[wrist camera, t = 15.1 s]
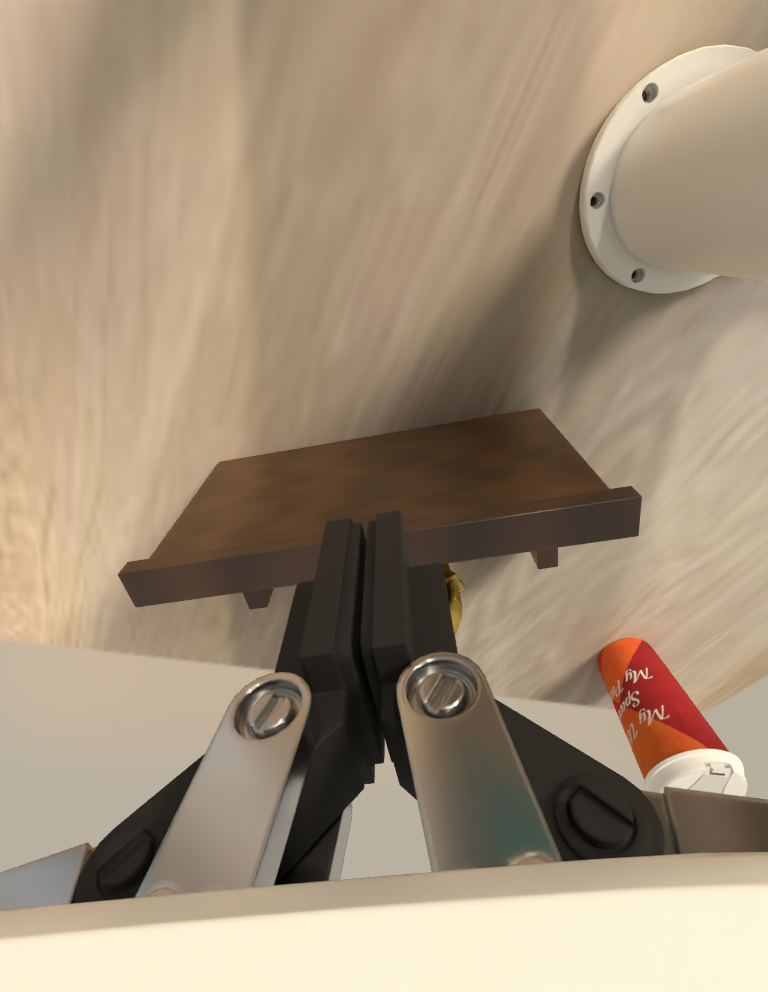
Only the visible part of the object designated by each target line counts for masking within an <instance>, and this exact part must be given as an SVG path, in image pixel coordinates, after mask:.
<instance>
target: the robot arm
mask: <svg viewBox="0 0 768 992" xmlns="http://www.w3.org/2000/svg"><path fill="white" fill-rule="evenodd" d="M643 92H645V93H646V95H647V97H646V100H645V101H643V99H642V93H643ZM592 197H595V199H596V202H595V204H594V205H593V206H591V204H590V200H591V198H592ZM579 212H580V221H581V229H582V233H583V236H584V239H585V242H586V245H587V248H588V250H589V252H590V253H591V255H592V257H593V259H594V260H595V262H596V264H597V265H598V266H599V267H600V268H601V269H602V270H603V271H604V272H605V273H606V274H607V276H609V277H610V278H612V279H613V280H615V281H616V282H618V283H619V284H621V285H623V286H626V287H629V288H632V289H634V290H637V291H643V292H648V293H674V292H680V291H685V290H689V289H692V288H694V287H697V286H700V285H702V284H705V283H707V282H709V281H711V280H713V279H714V278H716V277H718V276H728V277H735V278H743V279H751V280H758V281H766V282H768V47H767V48H765V49H763V50H761V51H759V52H756V51H754V50H752V49H750V48H748V47H741V46H734V45H728V44H724V45H715V46H706V47H701V48H698V49H695V50H693V51H690V52H687V53H684V54H681V55H679V56H677V57H675V58H674V59H672V60H670V61H668V62H666V63H664V64H663V65H661V66H660V67H658V68H657V69H655V70H654V71H652V72H651V73H650V74H648V75H647V76H645V77H644V78H642V79H641V80H640V81H639V82H638V83H637V84H636V85H635V86H634V87H633V88H632V89H631V90H630V91H629V92H628V93H627V94H626V95H625V96H624V97H623V98H622V99H621V100H620V101H619V103H618V104H617V105H616V107H615V108H614V109H613V111H612V112H611V113H610V115H609V116H608V117H607V119H606V120H605V122H604V124H603V126H602V128H601V129H600V131H599V133H598V135H597V137H596V139H595V140H594V143H593V145H592V148H591V151H590V153H589V156H588V159H587V161H586V164H585V168H584V173H583V177H582V182H581V187H580V203H579ZM633 271H635V276H634V277H633V278H632V279H631V275H632V273H633ZM385 740H386V744H387V748H388V751H389V755H390V758H391V761H392V762H394V766H395V770H396V773H397V776H398V780H399V783H400V785H401V786H402V787H403V788H404V789H405V790H406V791H407V792H408V793H410V794H411V795H412V796H413V797H414V798H415V799H416V800H417V801H418V806H419V811H420V816H421V821H422V826H423V831H424V835H425V841H426V845H427V850H428V856H429V860H430V865H431V870H432V872H428V873H416V874H404V875H392V876H380V877H368V878H357V879H344V880H340V877H341V872H342V867H343V861H344V856H345V851H346V846H347V841H348V836H349V830H350V825H351V820H352V804H351V802H352V801H353V800H354V799H355V798H356V797H357V796H358V794H359V793H360V792H361V791H362V790H363V789H364V784H371V783H374V777H375V776H374V775H375V764H380V763H383V762H384V753H385V751H384V749H385V747H384V746H385ZM0 992H768V800H766V799H759V798H751V797H743V796H736V795H728V794H720V793H712V792H705V791H697V790H689V789H681V788H674V787H666V786H664V791H663V793H657V792H650V791H642V790H640V789H638V788H637V787H636V786H634V785H633V784H632V783H630V782H629V781H628V780H627V779H625V778H624V777H623V776H621V775H619V774H618V773H616V772H614V771H613V770H611V769H609V768H608V767H606V766H604V765H603V764H601V763H599V762H598V761H596V760H594V759H593V758H591V757H590V756H588V755H586V754H585V753H583V752H581V751H580V750H578V749H576V748H575V747H573V746H572V745H570V744H568V743H567V742H565V741H563V740H562V739H560V738H558V737H557V736H555V735H553V734H552V733H550V732H549V731H547V730H545V729H543V728H542V727H540V726H539V725H537V724H535V723H534V722H532V721H531V720H529V719H527V718H526V717H524V716H522V715H520V714H519V713H517V712H516V711H514V710H512V709H511V708H509V707H508V706H506V705H504V704H502V703H501V702H499V701H497V700H496V699H494V696H493V694H492V692H491V689H490V687H489V684H488V682H487V680H486V677H485V675H484V674H483V672H482V671H481V669H480V668H479V666H478V665H477V664H475V663H474V662H473V661H472V660H470V659H469V658H467V657H465V656H462V655H460V654H458V652H457V646H456V640H455V634H454V628H453V622H452V617H451V611H450V605H449V599H448V593H447V587H446V581H445V576H444V570H443V564H442V562H439V563H432V564H425V565H418V566H411V562H410V557H409V552H408V546H407V541H406V536H405V530H404V525H403V520H402V515H401V511H400V510H396V511H390V512H383V513H377V514H376V520H373V521H368V525H367V541H366V538H365V534H364V529H363V526H362V523H361V522H360V523H353V520H352V518H344V519H338V520H331V521H327V522H326V526H325V531H324V536H323V541H322V545H321V550H320V555H319V560H318V565H317V570H316V575H315V580H312V581H305V582H300V583H299V584H298V585H297V587H296V590H295V594H294V598H293V602H292V606H291V610H290V614H289V618H288V622H287V626H286V630H285V634H284V638H283V642H282V646H281V650H280V654H279V658H278V661H277V665H276V669H275V673H270V674H267V675H265V676H262V677H259V678H257V679H256V680H254V681H252V682H251V683H249V684H248V685H246V686H245V687H244V688H243V689H242V690H241V691H240V692H239V693H238V694H237V695H236V696H235V697H234V699H233V700H232V702H231V703H230V705H229V706H228V708H227V710H226V712H225V714H224V716H223V718H222V720H221V722H220V725H219V727H218V729H217V731H216V733H215V735H214V737H213V739H212V741H211V743H210V745H209V747H208V749H207V751H206V753H205V754H204V755H203V756H202V757H201V758H199V759H198V760H197V761H195V762H194V763H193V764H192V765H191V766H189V767H188V768H187V769H186V770H185V771H183V772H182V773H181V774H180V775H179V776H177V777H176V778H175V779H174V780H172V781H171V782H170V783H169V784H168V785H166V786H165V787H164V788H163V789H161V790H160V791H159V792H158V793H157V794H155V796H153V797H152V798H151V799H149V800H148V801H147V802H146V803H144V805H142V806H141V807H140V808H138V809H137V810H136V811H135V812H134V813H132V814H131V815H130V816H129V817H128V818H126V819H125V820H124V821H123V822H122V823H120V824H119V825H118V826H117V827H115V828H114V829H113V830H112V831H111V832H110V833H109V834H108V835H107V836H106V837H105V838H104V839H103V840H102V841H101V842H100V843H99V844H98V846H97V847H95V848H92V847H91V845H90V844H89V843H85V844H82V845H79V846H76V847H73V848H70V849H68V850H65V851H61V852H59V853H56V854H53V855H50V856H47V857H44V858H41V859H38V860H35V861H32V862H30V863H27V864H24V865H21V866H18V867H15V868H12V869H9V870H6V871H3V872H0Z"/></svg>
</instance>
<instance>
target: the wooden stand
mask: <svg viewBox="0 0 768 992" xmlns="http://www.w3.org/2000/svg"><path fill="white" fill-rule="evenodd" d="M641 500H642V497H641V495H640V494H639V493H638V492H637V491H636V490H635V489H634V488H633V487H632V486H628V487H621V488H614V489H609V488H608V487H607V485H606V484H605V483H604V482H603V481H602V480H601V478H600V477H599V476H598V475H597V474H596V473H595V472H594V470H593V469H592V468H591V467H590V466H589V465H588V464H587V462H586V461H585V460H584V459H583V458H582V457H581V455H580V454H579V453H578V452H577V451H576V450H575V449H574V447H573V446H572V445H571V444H570V443H569V442H568V441H567V439H566V438H565V437H564V436H563V435H562V434H561V433H560V431H559V430H558V429H557V428H556V427H555V426H554V424H553V423H552V422H551V421H550V420H549V419H548V418H547V416H546V415H545V414H544V413H543V412H542V411H541V410H540V409H533V410H527V411H521V412H515V413H509V414H503V415H497V416H491V417H485V418H479V419H473V420H467V421H461V422H455V423H449V424H443V425H437V426H431V427H425V428H419V429H413V430H408V431H402V432H396V433H390V434H384V435H378V436H372V437H366V438H360V439H354V440H348V441H342V442H336V443H330V444H324V445H318V446H312V447H306V448H300V449H294V450H288V451H282V452H276V453H270V454H264V455H258V456H252V457H246V458H240V459H235V460H229V461H223V462H219V463H218V464H217V466H216V467H215V468H214V470H213V471H212V473H211V474H210V475H209V477H208V478H207V479H206V481H205V482H204V484H203V485H202V486H201V488H200V489H199V490H198V492H197V493H196V495H195V496H194V497H193V499H192V500H191V502H190V503H189V504H188V506H187V507H186V508H185V510H184V511H183V513H182V514H181V515H180V517H179V518H178V519H177V521H176V522H175V524H174V525H173V526H172V528H171V529H170V530H169V532H168V533H167V535H166V536H165V537H164V539H163V540H162V542H161V543H160V544H159V546H158V547H157V548H156V550H155V551H154V553H153V554H152V555H151V557H150V558H149V559H145V560H138V561H131V562H127V563H126V565H125V566H124V567H123V569H122V570H121V571H120V572H119V574H118V576H119V578H120V580H121V582H122V583H123V585H124V587H125V589H126V591H127V592H128V594H129V596H130V598H131V600H132V601H133V603H134V605H135V607H143V606H150V605H157V604H164V603H171V602H178V601H185V600H192V599H199V598H206V597H213V596H220V595H227V594H234V593H241V592H243V594H244V597H245V599H246V601H247V604H248V606H249V609H256V608H264V607H268V604H269V601H270V598H271V595H272V592H273V588H276V587H283V586H290V585H297V584H299V583H300V582H305V581H312V580H315V575H316V570H317V565H318V560H319V555H320V550H321V545H322V541H323V536H324V531H325V526H326V522H327V521H331V520H338V519H344V518H352V520H353V523H360V522H361V523H362V526H363V529H364V534H365V538H366V541H367V525H368V521H373V520H376V514H377V513H383V512H390V511H396V510H400V511H401V515H402V520H403V525H404V530H405V536H406V541H407V546H408V552H409V557H410V562H411V566H418V565H425V564H432V563H439V562H442V564H445V563H452V562H459V561H466V560H473V559H480V558H487V557H494V556H501V555H508V554H516V553H523V552H531V554H532V557H533V559H534V561H535V563H536V565H537V568H538V569H543V568H551V567H557V566H558V547H565V546H572V545H579V544H586V543H593V542H600V541H607V540H614V539H621V538H628V537H635V536H638V535H639V524H640V512H641Z"/></svg>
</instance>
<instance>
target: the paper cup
mask: <svg viewBox="0 0 768 992" xmlns="http://www.w3.org/2000/svg"><path fill="white" fill-rule="evenodd" d="M598 665H599V668H600V671H601V674H602V677H603V679H604V682H605V684H606V687H607V689H608V692H609V694H610V697H611V699H612V702H613V704H614V707H615V709H616V712H617V714H618V717H619V719H620V721H621V724H622V726H623V729H624V731H625V733H626V736H627V738H628V741H629V743H630V746H631V748H632V751H633V753H634V755H635V758H636V760H637V763H638V765H639V768H640V770H641V772H642V775H643V777H644V780H645V781H644V790H645V791H650V792H657V793H663V791H664V786H666V787H674V788H681V789H689V790H697V791H705V792H712V793H720V794H728V795H736V796H743V797H744V795H745V793H746V791H747V781H746V778H745V776H744V767H743V764H742V762H741V761H740V759H739V758H738V757H737V756H735V755H734V754H732V753H730V752H729V751H728V750H727V748H726V747H725V745H724V744H723V743H722V741H721V740H720V739H719V738H718V736H717V735H716V733H715V732H714V731H713V729H712V728H711V726H710V725H709V724H708V722H707V721H706V720H705V718H704V717H703V716H702V714H701V713H700V711H699V710H698V709H697V707H696V706H695V705H694V703H693V702H692V701H691V699H690V698H689V696H688V695H687V694H686V692H685V691H684V690H683V688H682V687H681V686H680V684H679V683H678V682H677V680H676V679H675V678H674V676H673V675H672V674H671V672H670V671H669V669H668V668H667V667H666V665H665V664H664V663H663V661H662V660H661V659H660V658H659V656H658V655H657V654H656V652H655V651H654V650H653V649H652V647H651V646H650V645H649V644H648V643H647V642H645V641H643V640H641V639H636V638H626V639H621V640H618V641H615V642H613V643H611V644H609V645H608V646H607V647H605V648H604V649H603V650H602V652H601V653H600V655H599V658H598Z"/></svg>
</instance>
